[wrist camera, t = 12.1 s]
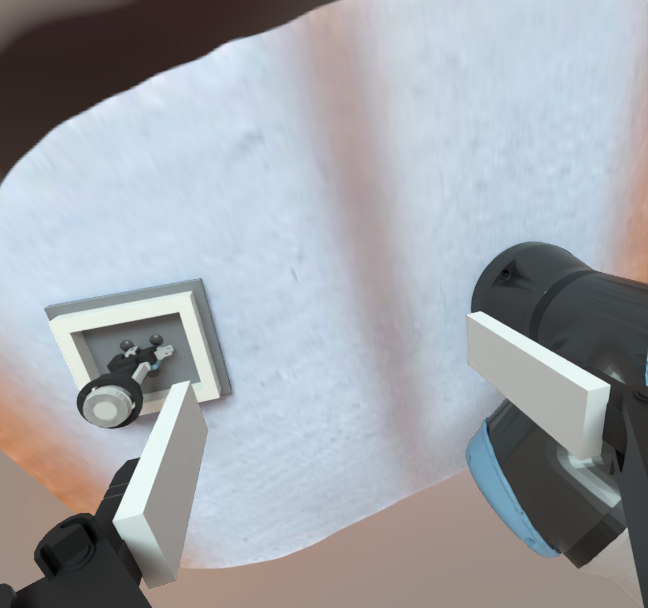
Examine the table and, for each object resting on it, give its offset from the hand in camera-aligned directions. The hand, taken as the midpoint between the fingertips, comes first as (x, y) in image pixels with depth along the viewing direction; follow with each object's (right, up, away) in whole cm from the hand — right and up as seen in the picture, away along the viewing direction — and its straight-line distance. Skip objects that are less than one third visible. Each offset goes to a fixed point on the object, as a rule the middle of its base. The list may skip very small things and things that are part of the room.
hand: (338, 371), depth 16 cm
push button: (-21, -3, +24) cm, 32 cm away
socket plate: (-21, -2, +25) cm, 33 cm away
